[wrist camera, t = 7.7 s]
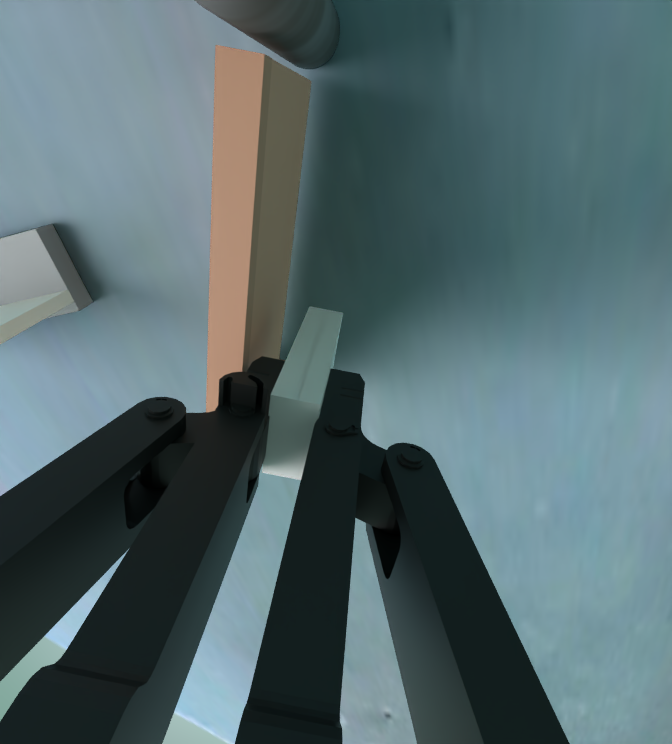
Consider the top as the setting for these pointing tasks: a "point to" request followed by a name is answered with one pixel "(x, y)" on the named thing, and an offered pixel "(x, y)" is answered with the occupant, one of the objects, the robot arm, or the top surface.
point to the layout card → (36, 280)
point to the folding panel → (252, 207)
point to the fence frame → (285, 26)
